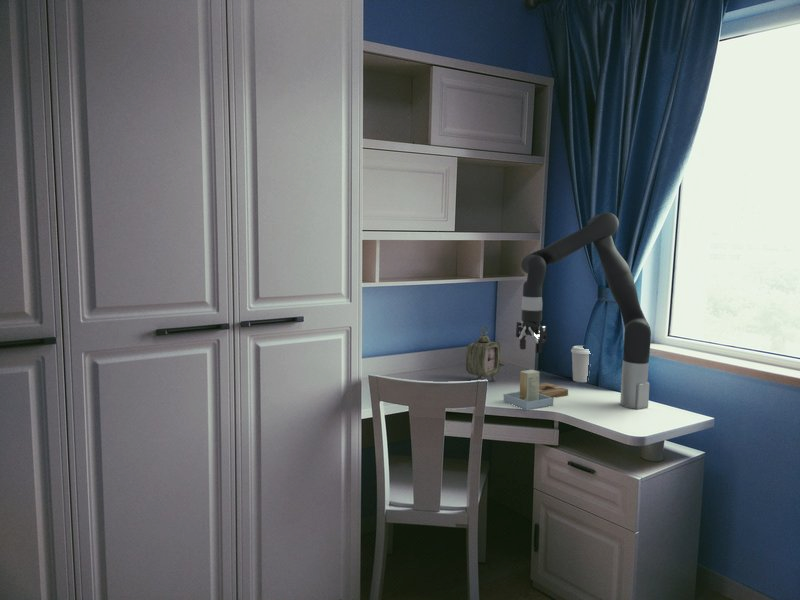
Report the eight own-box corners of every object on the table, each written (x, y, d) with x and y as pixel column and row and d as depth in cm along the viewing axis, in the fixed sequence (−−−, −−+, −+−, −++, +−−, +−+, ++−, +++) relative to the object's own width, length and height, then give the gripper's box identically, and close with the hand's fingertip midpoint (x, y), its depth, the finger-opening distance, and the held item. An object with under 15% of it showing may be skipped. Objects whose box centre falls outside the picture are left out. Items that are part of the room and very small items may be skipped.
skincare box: (531, 400, 241) (532, 369, 240) (539, 402, 237) (540, 371, 236) (518, 402, 238) (519, 370, 237) (525, 405, 234) (527, 373, 233)
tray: (553, 405, 235) (553, 398, 235) (526, 410, 229) (526, 402, 228) (529, 397, 247) (529, 390, 246) (503, 401, 240) (503, 393, 240)
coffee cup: (591, 379, 280) (593, 346, 278) (591, 384, 271) (593, 350, 269) (569, 377, 283) (571, 344, 281) (568, 381, 274) (570, 348, 272)
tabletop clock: (481, 387, 262) (484, 328, 259) (463, 383, 267) (465, 325, 265) (499, 380, 273) (501, 324, 270) (481, 377, 279) (483, 322, 276)
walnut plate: (567, 395, 251) (568, 389, 251) (541, 399, 244) (542, 393, 244) (546, 388, 261) (547, 382, 261) (521, 392, 254) (521, 386, 254)
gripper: (552, 310, 229) (551, 353, 231) (526, 306, 241) (525, 347, 243) (537, 311, 225) (536, 355, 227) (511, 307, 238) (510, 348, 239)
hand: (530, 351), depth 235 cm, fingers open, 8 cm apart
